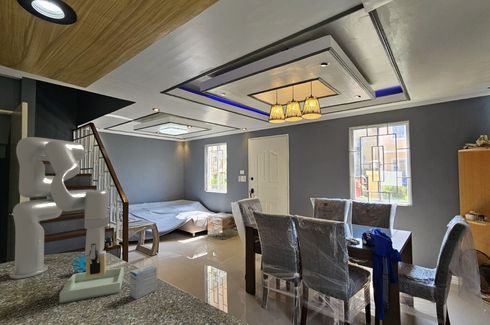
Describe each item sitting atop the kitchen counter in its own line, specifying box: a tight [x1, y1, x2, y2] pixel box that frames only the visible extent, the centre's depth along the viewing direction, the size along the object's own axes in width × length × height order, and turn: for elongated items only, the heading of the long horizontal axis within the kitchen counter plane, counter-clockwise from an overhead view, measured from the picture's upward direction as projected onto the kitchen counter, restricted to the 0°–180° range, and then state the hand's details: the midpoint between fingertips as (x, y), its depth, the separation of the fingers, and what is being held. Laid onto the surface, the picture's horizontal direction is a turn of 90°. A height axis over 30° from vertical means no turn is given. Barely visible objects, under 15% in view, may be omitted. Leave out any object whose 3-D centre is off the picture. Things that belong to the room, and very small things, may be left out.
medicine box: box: [129, 264, 158, 300], centre depth 86 cm, size 8×4×9 cm, turn 145°
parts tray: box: [59, 266, 125, 304], centre depth 91 cm, size 16×18×4 cm
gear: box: [72, 254, 86, 273], centre depth 107 cm, size 11×6×10 cm
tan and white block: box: [85, 250, 107, 278], centre depth 91 cm, size 4×6×8 cm, turn 113°
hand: (96, 271), depth 91 cm, fingers closed on tan and white block, 3 cm apart
